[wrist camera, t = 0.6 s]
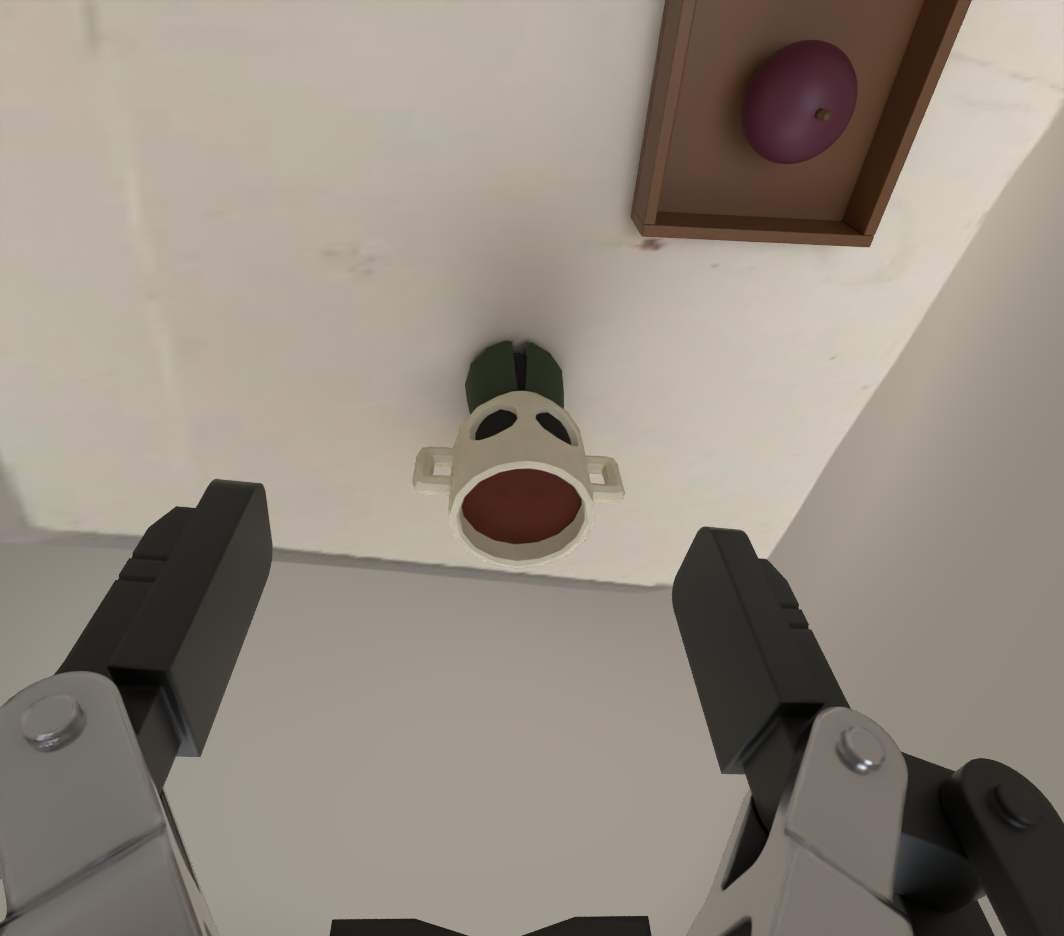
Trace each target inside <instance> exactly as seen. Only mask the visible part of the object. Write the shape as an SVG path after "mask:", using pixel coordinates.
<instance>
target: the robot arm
mask: <svg viewBox="0 0 1064 936" xmlns="http://www.w3.org/2000/svg"><path fill="white" fill-rule="evenodd" d="M271 561H272V538H271V530H270V523H269V515H268V508H267V500H266V493H265V489H264V486H263V485H262V484H261V483H252V482H241V481H231V480H220V479H215V480H213V481H212V482H211V483H210V484H209V486H208V487H207V489H206V491H205V493H204V494H203V496H202V498H201V500H200V502H199V503H198V505H197V507H196V508H189V507H177V506H176V507H175V508H174V509H172V510H171V511H170V512H168V513H167V514H166V515H164V516H163V517H162V518H160V519H159V520H158V521H157V522H155V523H154V524H153V525H151V526H150V527H149V528H148V529H147V531H146V533H145V534H144V536H143V537H142V539H141V541H140V542H139V544H138V545H137V547H136V549H135V550H134V552H133V556H132V558H131V559H130V558H129V560H128V561H127V563H126V564H125V566H124V568H123V569H122V571H121V572H120V574H119V579H118V580H115V582H114V583H113V585H112V587H111V588H110V590H109V591H108V593H107V594H106V596H105V598H104V599H103V601H102V602H101V604H100V606H99V607H98V609H97V610H96V612H95V613H94V615H93V617H92V618H91V620H90V621H89V623H88V625H87V626H86V628H85V629H84V631H83V632H82V634H81V636H80V637H79V639H78V640H77V642H76V644H75V645H74V647H73V648H72V650H71V651H70V653H69V655H68V656H67V658H66V659H65V661H64V662H63V664H62V665H61V667H60V668H59V669H58V671H57V672H56V673H55V674H54V675H53V676H50V677H48V678H45V679H42V680H40V681H38V682H35V683H33V684H31V685H29V686H28V687H26V688H25V689H23V690H21V691H19V692H18V693H17V694H15V695H14V696H13V697H11V698H10V699H9V700H8V701H7V702H6V703H5V704H4V705H2V706H1V707H0V879H1V878H2V879H3V884H4V889H5V895H6V902H7V915H6V918H5V920H4V921H2V922H1V923H0V936H220V935H219V932H218V930H217V927H216V925H215V922H214V920H213V918H212V915H211V913H210V910H209V908H208V905H207V903H206V900H205V898H204V895H203V892H202V890H201V887H200V884H199V881H198V879H197V876H196V873H195V871H194V868H193V865H192V862H191V860H190V857H189V854H188V852H187V849H186V846H185V843H184V841H183V838H182V835H181V833H180V830H179V827H178V824H177V822H176V819H175V816H174V814H173V811H172V808H171V806H170V803H169V800H168V798H167V795H166V792H165V789H164V787H163V786H164V784H165V781H166V779H167V777H168V774H169V772H170V769H171V767H172V764H173V762H174V759H175V757H176V756H185V757H186V756H187V757H200V756H201V754H202V751H203V748H204V746H205V743H206V740H207V738H208V735H209V732H210V730H211V727H212V724H213V722H214V719H215V717H216V714H217V711H218V709H219V706H220V703H221V700H222V698H223V695H224V693H225V690H226V688H227V684H228V682H229V680H230V677H231V674H232V671H233V669H234V666H235V664H236V661H237V658H238V656H239V653H240V650H241V648H242V645H243V642H244V640H245V637H246V634H247V632H248V629H249V627H250V624H251V621H252V619H253V616H254V613H255V611H256V608H257V605H258V602H259V600H260V597H261V595H262V592H263V589H264V587H265V584H266V581H267V578H268V575H269V571H270V567H271ZM672 602H673V609H674V613H675V616H676V619H677V622H678V626H679V630H680V633H681V637H682V640H683V643H684V646H685V650H686V654H687V657H688V661H689V664H690V667H691V671H692V674H693V678H694V681H695V685H696V688H697V691H698V695H699V698H700V702H701V705H702V709H703V712H704V715H705V719H706V722H707V726H708V729H709V733H710V736H711V739H712V743H713V746H714V749H715V753H716V757H717V760H718V763H719V767H720V770H721V773H722V774H746V777H747V780H748V784H749V786H750V790H749V791H748V792H747V793H746V795H745V797H744V799H743V802H742V804H741V807H740V810H739V813H738V816H737V818H736V821H735V824H734V827H733V830H732V832H731V835H730V838H729V840H728V844H727V847H726V849H725V852H724V854H723V857H722V860H721V863H720V866H719V868H718V871H717V874H716V877H715V879H714V882H713V885H712V888H711V890H710V893H709V895H708V897H707V899H706V901H705V903H704V905H703V907H702V908H701V910H700V912H699V913H698V915H697V916H696V918H695V920H694V921H693V923H692V925H691V927H690V929H689V931H688V933H687V935H686V936H994V934H993V932H992V929H991V927H990V926H989V923H988V921H987V919H986V917H985V915H984V913H983V911H982V909H981V907H980V905H979V903H978V901H977V900H978V899H980V898H982V897H984V896H986V895H987V897H988V899H989V901H990V903H991V905H992V907H993V909H994V911H995V913H996V915H997V917H998V919H999V921H1000V923H1001V925H1002V927H1003V929H1004V931H1005V933H1006V935H1007V936H1064V823H1063V822H1062V820H1061V818H1060V817H1059V815H1058V814H1057V812H1056V810H1055V809H1054V808H1053V806H1052V805H1051V803H1050V802H1049V801H1048V799H1047V798H1046V797H1045V796H1044V795H1043V794H1042V792H1041V791H1040V790H1039V789H1038V788H1037V787H1036V786H1035V785H1033V784H1032V783H1031V782H1030V781H1029V780H1028V779H1026V778H1025V777H1024V776H1023V775H1021V774H1020V773H1018V772H1017V771H1015V770H1013V769H1012V768H1010V767H1009V766H1006V765H1004V764H1002V763H1000V762H997V761H994V760H990V759H983V758H978V759H974V760H971V761H969V762H968V763H966V764H965V765H964V766H963V767H961V768H960V769H958V770H957V771H956V772H955V771H952V770H950V769H947V768H944V767H941V766H939V765H936V764H933V763H930V762H928V761H925V760H922V759H919V758H916V757H914V756H911V755H908V754H905V753H903V752H901V751H900V749H899V748H898V746H897V745H896V743H895V741H894V740H893V739H892V738H891V737H890V735H889V734H888V733H887V732H886V731H885V730H884V729H883V728H882V727H881V726H880V725H878V724H877V723H876V722H875V721H873V720H872V719H870V718H869V717H867V716H866V715H864V714H862V713H860V712H857V711H855V710H852V709H851V708H850V706H849V704H848V702H847V701H846V699H845V697H844V695H843V692H842V691H841V689H840V687H839V685H838V682H837V680H836V679H835V676H834V675H833V672H832V670H831V668H830V666H829V664H828V662H827V660H826V659H825V656H824V654H823V652H822V650H821V648H820V646H819V644H818V642H817V640H816V638H815V636H814V634H813V632H812V630H809V629H808V625H809V624H808V622H807V620H806V618H805V616H804V614H803V612H802V610H799V608H798V607H799V604H798V602H797V600H796V598H795V596H794V594H793V592H792V590H791V588H790V586H789V584H788V582H787V580H786V579H785V578H784V577H783V576H782V575H781V574H780V573H779V572H778V571H777V570H776V568H775V567H774V566H773V565H772V564H771V563H770V562H769V561H768V560H767V559H759V558H758V557H757V555H756V553H755V551H754V548H753V546H752V544H751V542H750V540H749V538H748V536H747V534H746V533H745V532H744V531H742V530H736V529H725V528H715V527H702V528H701V529H700V530H699V531H698V532H697V534H696V536H695V538H694V540H693V542H692V544H691V546H690V548H689V550H688V552H687V554H686V556H685V558H684V561H683V563H682V565H681V567H680V569H679V571H678V573H677V575H676V577H675V580H674V583H673V589H672ZM330 936H467V935H464V934H461V933H458V932H455V931H452V930H449V929H446V928H442V927H439V926H436V925H433V924H430V923H426V922H424V921H420V920H417V919H345V920H343V919H342V920H341V919H340V920H332V925H331V931H330ZM523 936H651V931H650V925H649V919H648V916H615V917H614V916H609V917H608V916H606V917H573V918H571V919H568V920H565V921H562V922H559V923H556V924H554V925H551V926H548V927H545V928H542V929H540V930H537V931H534V932H531V933H528V934H526V935H523Z"/></svg>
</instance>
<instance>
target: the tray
mask: <svg viewBox="0 0 1064 936" xmlns="http://www.w3.org/2000/svg"><path fill="white" fill-rule="evenodd" d="M971 1H972V0H666V1H665V7H664V14H663V20H662V26H661V32H660V39H659V45H658V51H657V57H656V64H655V70H654V76H653V82H652V89H651V95H650V101H649V107H648V114H647V120H646V126H645V132H644V139H643V145H642V151H641V157H640V164H639V170H638V176H637V182H636V189H635V195H634V201H633V207H632V214H631V219H632V221H633V222H634V224H635V226H636V227H637V229H638V231H639V232H640V234H641V236H645V237H666V238H687V239H708V240H729V241H749V242H770V243H791V244H812V245H833V246H854V247H870V245H871V243H872V240H873V238H874V236H873V235H875V233H876V231H877V228H878V226H879V223H880V221H881V218H882V216H883V214H884V211H885V209H886V206H887V204H888V201H889V199H890V197H891V194H892V192H893V189H894V187H895V185H896V182H897V180H898V177H899V175H900V172H901V170H902V168H903V165H904V163H905V160H906V158H907V156H908V153H909V151H910V148H911V146H912V143H913V141H914V139H915V136H916V134H917V131H918V129H919V126H920V124H921V122H922V119H923V117H924V114H925V112H926V110H927V107H928V105H929V102H930V100H931V97H932V95H933V93H934V90H935V88H936V85H937V83H938V80H939V78H940V76H941V73H942V71H943V68H944V66H945V64H946V61H947V59H948V56H949V54H950V51H951V49H952V47H953V44H954V42H955V39H956V37H957V34H958V32H959V30H960V27H961V25H962V22H963V20H964V18H965V15H966V13H967V10H968V8H969V5H970V3H971ZM803 40H821V41H825V42H828V43H830V44H833V45H835V46H836V47H838V48H839V49H840V50H841V51H843V52H844V53H845V54H846V56H847V57H848V58H849V59H850V61H851V63H852V65H853V67H854V70H855V73H856V78H857V87H858V90H857V100H856V105H855V109H854V112H853V115H852V117H851V119H850V121H849V123H848V125H847V127H846V128H845V130H844V132H843V133H842V134H841V136H840V137H839V138H838V139H837V140H836V141H835V142H834V143H833V144H832V145H831V146H830V147H829V148H828V149H827V150H825V151H824V152H822V153H821V154H819V155H818V156H816V157H814V158H812V159H810V160H807V161H804V162H800V163H796V164H778V163H774V162H771V161H768V160H766V159H764V158H762V157H761V156H760V155H758V154H757V153H756V152H755V151H754V150H753V149H752V148H751V146H750V145H749V143H748V141H747V139H746V137H745V135H744V132H743V128H742V122H741V110H742V102H743V98H744V94H745V91H746V89H747V86H748V84H749V82H750V80H751V78H752V77H753V75H754V74H755V72H756V71H757V69H758V68H759V67H760V66H761V64H762V63H763V62H764V61H765V60H766V59H767V58H768V57H770V56H771V55H772V54H773V53H775V52H776V51H778V50H779V49H781V48H783V47H785V46H787V45H789V44H791V43H794V42H798V41H803Z"/></svg>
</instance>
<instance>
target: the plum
mask: <svg viewBox="0 0 1064 936" xmlns="http://www.w3.org/2000/svg"><path fill="white" fill-rule="evenodd" d="M857 90H858V87H857V78H856V73H855V70H854V67H853V65H852V63H851V61H850V59H849V58H848V57H847V56H846V54H845V53H844V52H843V51H841V50H840V49H839V48H838V47H836V46H835V45H833V44H830V43H828V42H825V41H821V40H803V41H798V42H794V43H791V44H789V45H787V46H785V47H783V48H781V49H779V50H778V51H776V52H775V53H773V54H772V55H771V56H770V57H768V58H767V59H766V60H765V61H764V62H763V63H762V64H761V66H760V67H759V68H758V69H757V71H756V72H755V74H754V75H753V77H752V78H751V80H750V82H749V84H748V86H747V89H746V91H745V94H744V98H743V102H742V110H741V122H742V128H743V132H744V135H745V137H746V139H747V141H748V143H749V145H750V146H751V148H752V149H753V150H754V151H755V152H756V153H757V154H758V155H760V156H761V157H762V158H764V159H766V160H768V161H771V162H774V163H778V164H796V163H800V162H804V161H807V160H810V159H812V158H814V157H816V156H818V155H819V154H821V153H822V152H824V151H825V150H827V149H828V148H829V147H830V146H831V145H832V144H833V143H834V142H835V141H836V140H837V139H838V138H839V137H840V136H841V134H842V133H843V132H844V130H845V128H846V127H847V125H848V123H849V121H850V119H851V117H852V115H853V112H854V109H855V105H856V100H857Z"/></svg>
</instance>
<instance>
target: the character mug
mask: <svg viewBox="0 0 1064 936" xmlns="http://www.w3.org/2000/svg"><path fill="white" fill-rule="evenodd" d="M465 388H466V396H467V402H468V407H469V412H470V416H469V417H468V418H467V419H466V421H465V422H464V423H463V424H462V425H461V427H460V429H459V432H458V435H457V439H456V442H455V445H454V448H444V447H425V448H422V449H421V450H420V452H419V453H418V455H417V457H416V462H415V469H414V475H413V481H412V483H413V486H414V488H415V490H416V491H417V492H418V493H422V494H427V495H447V496H450V498H449V518H450V522H451V526H452V530H453V534H454V537H455V538H456V539H457V540H458V541H459V542H460V543H461V545H462V546H463V547H464V548H465V549H466V550H467V551H468V553H470V554H472V555H474V556H476V557H478V558H480V559H482V560H484V561H486V562H487V563H489V564H494V565H499V566H505V567H511V568H525V567H534V566H543V565H545V564H548V563H550V562H553V561H555V560H558V559H560V558H563V557H565V556H567V555H568V554H569V553H570V552H572V551H573V550H574V549H575V548H577V547H578V546H579V545H580V544H581V543H583V542H584V541H585V539H586V537H587V535H588V533H589V531H590V529H591V527H592V525H593V523H594V511H593V502H594V503H617V502H620V501H621V500H622V499H624V494H625V491H624V487H623V484H622V480H621V476H620V472H619V468H618V465H617V463H616V461H615V460H614V459H613V458H609V457H602V456H585V451H584V446H583V442H582V437H581V433H580V430H579V428H578V427H577V425H576V424H575V422H574V421H573V420H572V418H571V417H570V415H569V413H568V412H567V411H565V410H564V409H563V408H564V390H563V380H562V370H561V369H560V367H559V366H558V364H557V363H556V361H555V360H554V358H553V357H552V355H551V354H550V353H549V352H547V351H545V350H543V349H542V348H540V347H538V346H537V345H535V344H533V343H527V356H526V355H523V354H520V353H518V354H513V345H512V342H511V341H505V342H503V343H500V344H497V345H495V346H492V347H489V348H487V349H485V350H484V351H483V352H482V353H481V354H480V355H479V356H478V357H477V358H476V359H475V360H474V361H473V362H472V363H471V366H470V370H469V373H468V376H467V380H466V383H465ZM435 465H436V466H452V474H451V476H440V475H433V470H434V466H435ZM589 474H601V475H603V478H604V482H605V484H595V483H591V482H590V478H589Z"/></svg>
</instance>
